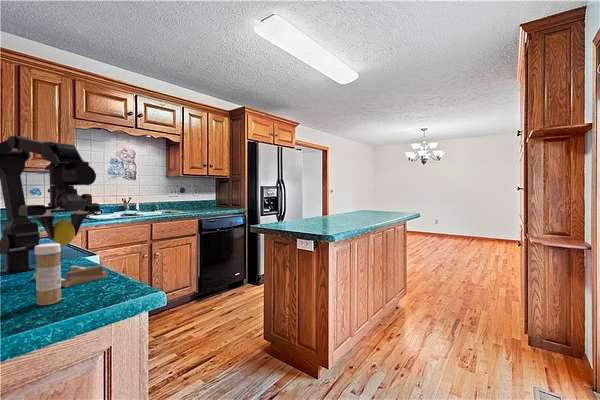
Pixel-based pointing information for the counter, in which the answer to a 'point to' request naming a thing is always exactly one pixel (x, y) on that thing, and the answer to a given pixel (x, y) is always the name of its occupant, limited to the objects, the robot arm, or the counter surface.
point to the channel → (82, 275)
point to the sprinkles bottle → (48, 273)
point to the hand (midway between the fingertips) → (63, 237)
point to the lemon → (63, 232)
